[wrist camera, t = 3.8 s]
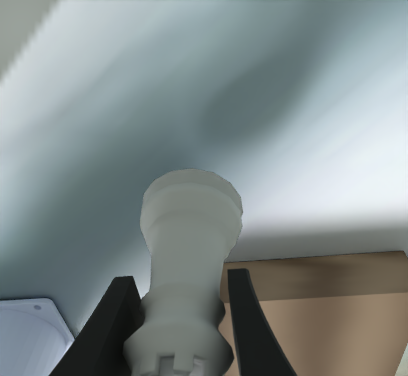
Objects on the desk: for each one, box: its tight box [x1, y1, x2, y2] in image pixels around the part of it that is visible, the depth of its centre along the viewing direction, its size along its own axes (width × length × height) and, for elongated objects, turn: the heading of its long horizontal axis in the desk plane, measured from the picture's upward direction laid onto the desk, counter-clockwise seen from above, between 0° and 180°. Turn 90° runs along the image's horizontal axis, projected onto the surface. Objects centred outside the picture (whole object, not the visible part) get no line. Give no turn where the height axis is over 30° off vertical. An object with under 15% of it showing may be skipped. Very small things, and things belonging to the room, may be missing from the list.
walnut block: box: [218, 251, 408, 376], centre depth 24 cm, size 12×12×3 cm
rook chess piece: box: [122, 168, 243, 376], centre depth 13 cm, size 4×4×8 cm
